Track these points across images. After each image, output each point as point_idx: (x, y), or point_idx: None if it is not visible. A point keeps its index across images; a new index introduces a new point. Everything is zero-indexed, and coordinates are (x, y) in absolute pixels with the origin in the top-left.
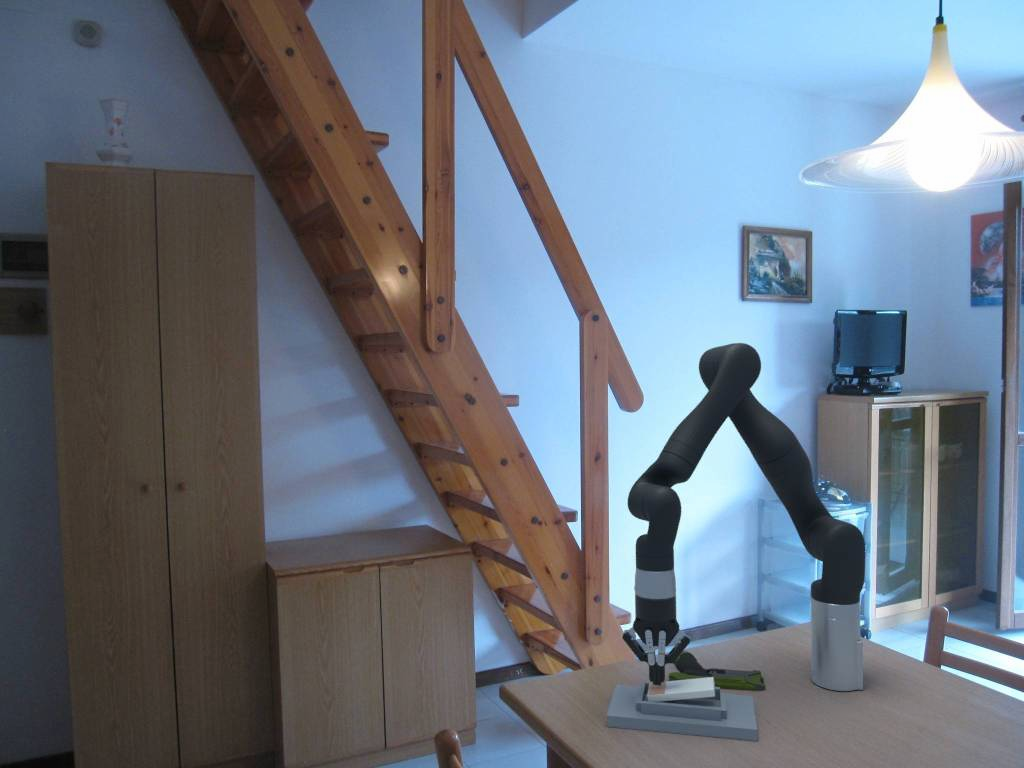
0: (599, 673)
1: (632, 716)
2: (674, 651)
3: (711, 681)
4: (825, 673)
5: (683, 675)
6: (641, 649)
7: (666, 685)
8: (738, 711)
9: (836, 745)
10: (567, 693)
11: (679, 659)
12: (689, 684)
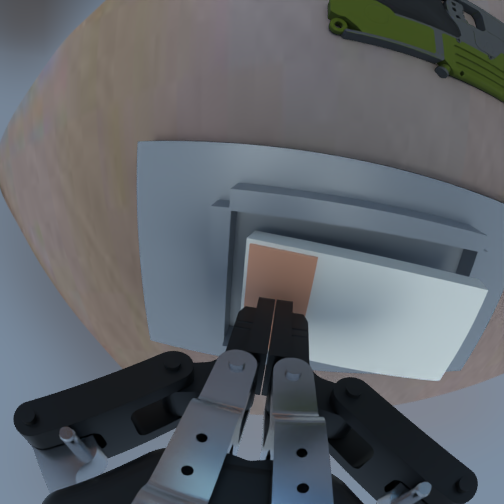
0: (116, 17)
1: (208, 347)
2: (351, 471)
3: (466, 325)
4: None
5: (380, 15)
6: (156, 395)
7: (313, 294)
8: None
9: None
10: (57, 162)
11: None
12: (397, 322)
